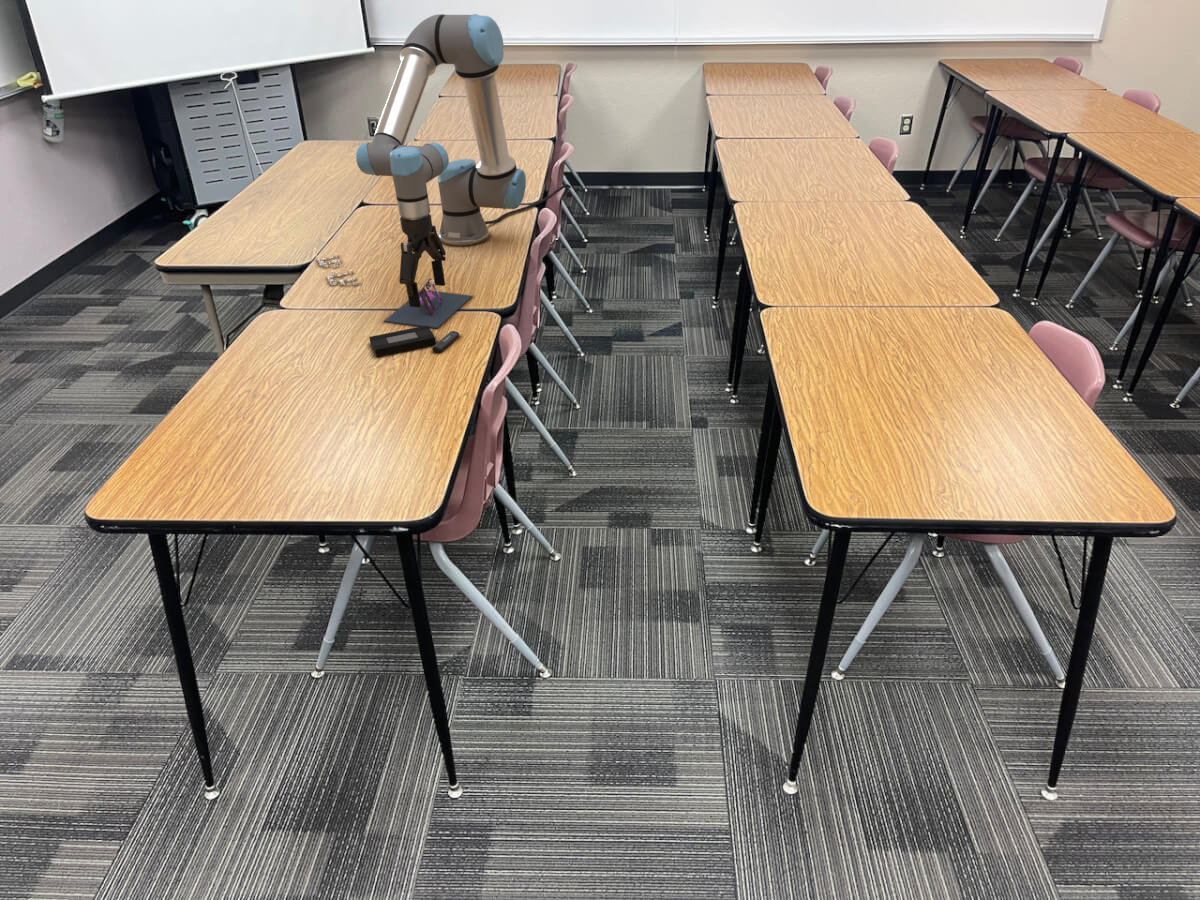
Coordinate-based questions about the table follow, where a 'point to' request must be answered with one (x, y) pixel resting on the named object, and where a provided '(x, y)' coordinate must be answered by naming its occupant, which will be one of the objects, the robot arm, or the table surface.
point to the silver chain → (334, 271)
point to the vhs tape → (402, 340)
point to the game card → (429, 297)
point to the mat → (422, 315)
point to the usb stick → (445, 341)
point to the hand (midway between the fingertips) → (428, 295)
